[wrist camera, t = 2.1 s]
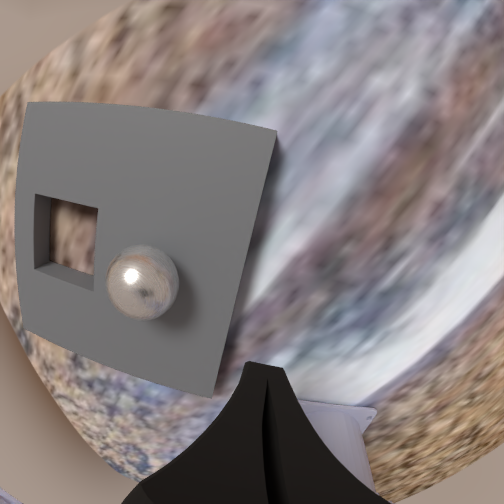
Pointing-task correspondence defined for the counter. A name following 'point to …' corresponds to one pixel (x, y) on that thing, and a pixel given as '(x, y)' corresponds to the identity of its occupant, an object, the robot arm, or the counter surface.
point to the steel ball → (142, 282)
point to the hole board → (139, 229)
